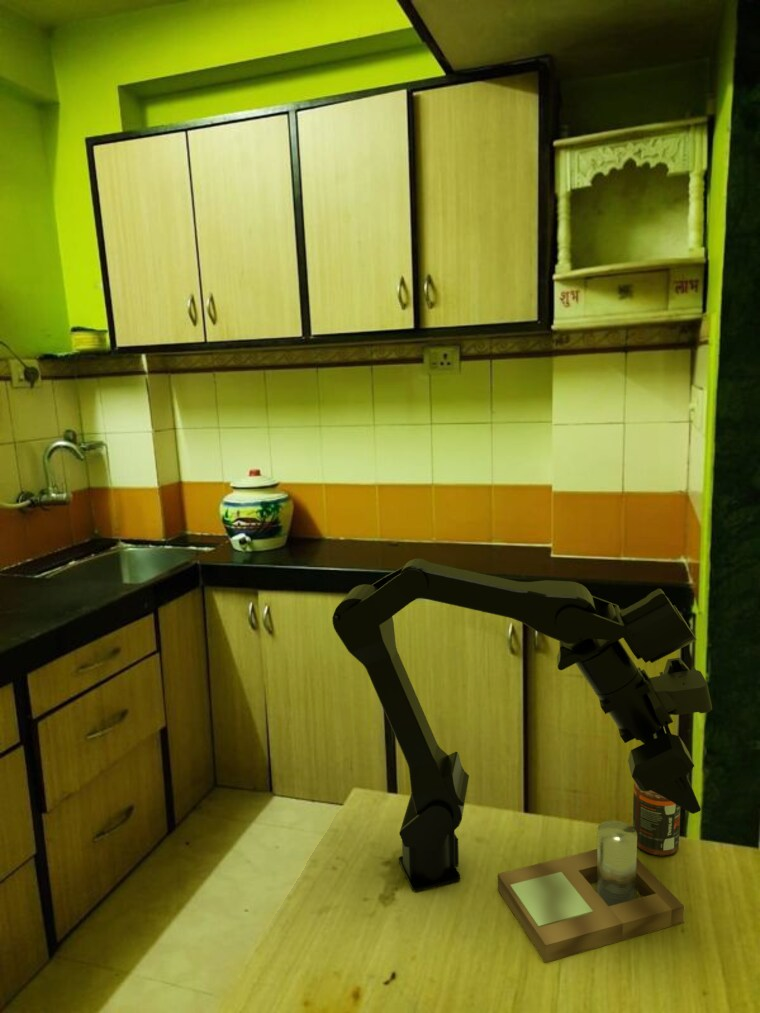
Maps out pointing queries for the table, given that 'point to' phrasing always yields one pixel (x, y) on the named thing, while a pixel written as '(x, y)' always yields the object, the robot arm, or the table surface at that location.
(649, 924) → the pocket block
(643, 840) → the supplement bottle
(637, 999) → the table surface
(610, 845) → the clear glass jar
